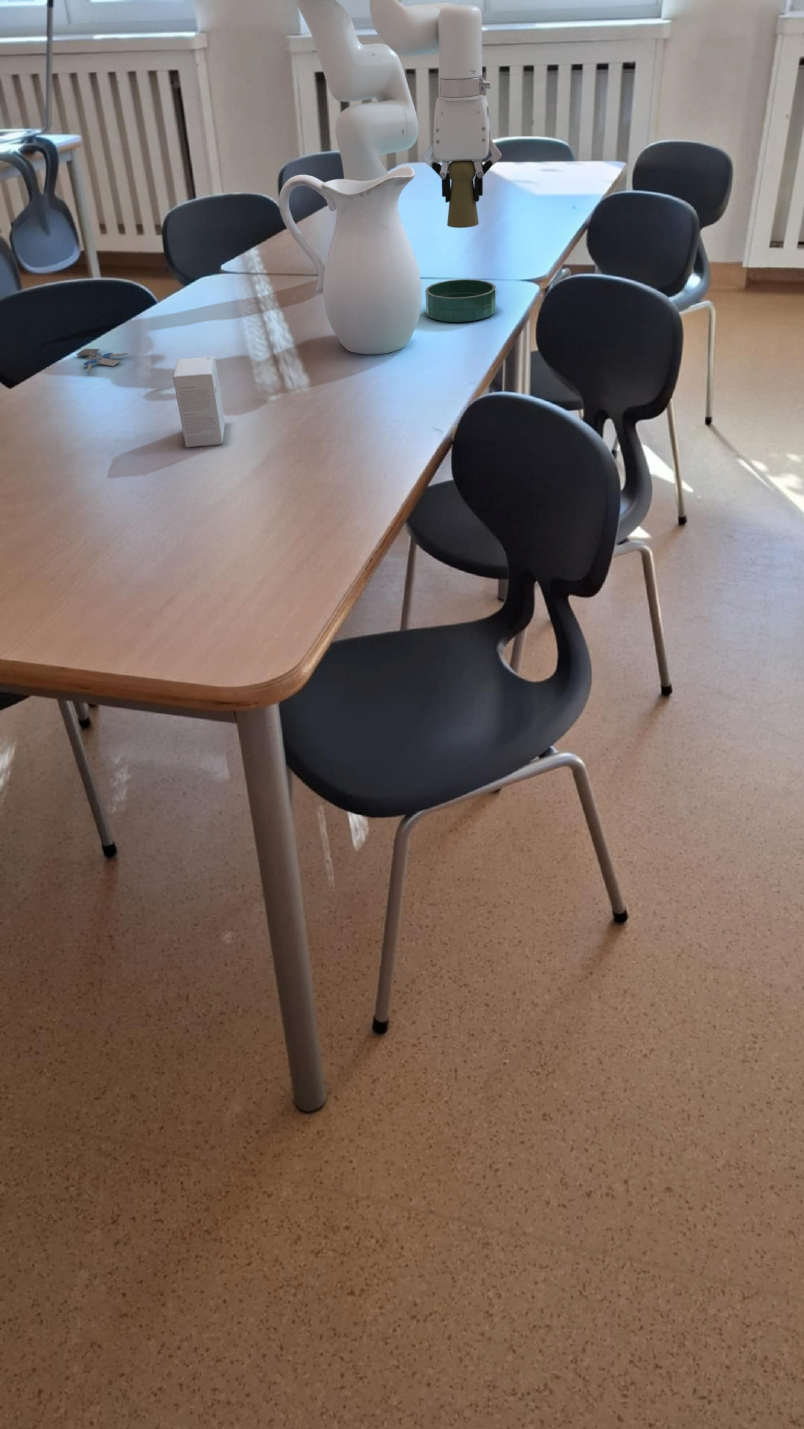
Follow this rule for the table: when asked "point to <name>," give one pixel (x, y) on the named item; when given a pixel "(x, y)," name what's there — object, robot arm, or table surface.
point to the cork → (462, 195)
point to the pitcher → (364, 261)
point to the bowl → (460, 300)
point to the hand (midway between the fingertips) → (462, 199)
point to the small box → (199, 401)
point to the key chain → (99, 357)
